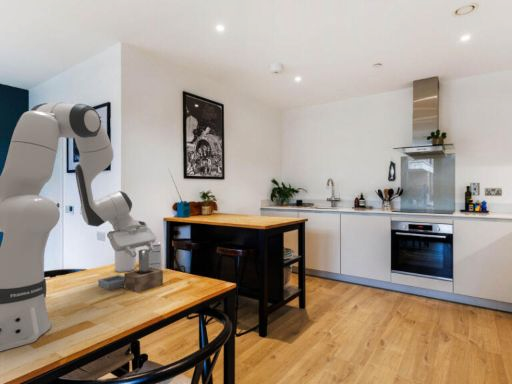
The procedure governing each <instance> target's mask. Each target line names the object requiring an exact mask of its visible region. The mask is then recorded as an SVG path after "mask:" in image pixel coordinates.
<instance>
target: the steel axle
mask: <svg viewBox="0 0 512 384" xmlns="http://www.w3.org/2000/svg"><path fill="white" fill-rule="evenodd" d="M138 270H139V274H140V275H143V274H147V273H149V250H148V248H147V249H139V250H138Z"/></svg>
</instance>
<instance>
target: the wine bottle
mask: <svg viewBox="0 0 512 384" xmlns="http://www.w3.org/2000/svg"><path fill="white" fill-rule="evenodd" d="M131 250H132V251H135V253H136V254H137V252H136V251H137V250H136V248H132V249H131ZM136 256H137V255H136ZM136 256H135V257H131V256H130V255H129V254H127V253H126V252H125V251H124V250H123V251H118V252H117V251H115V250H114V271H116V272H118V273H128V272H132V271H135V270H136V265H137V264H136V262H137V261H136V260H137V259H136Z"/></svg>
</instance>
